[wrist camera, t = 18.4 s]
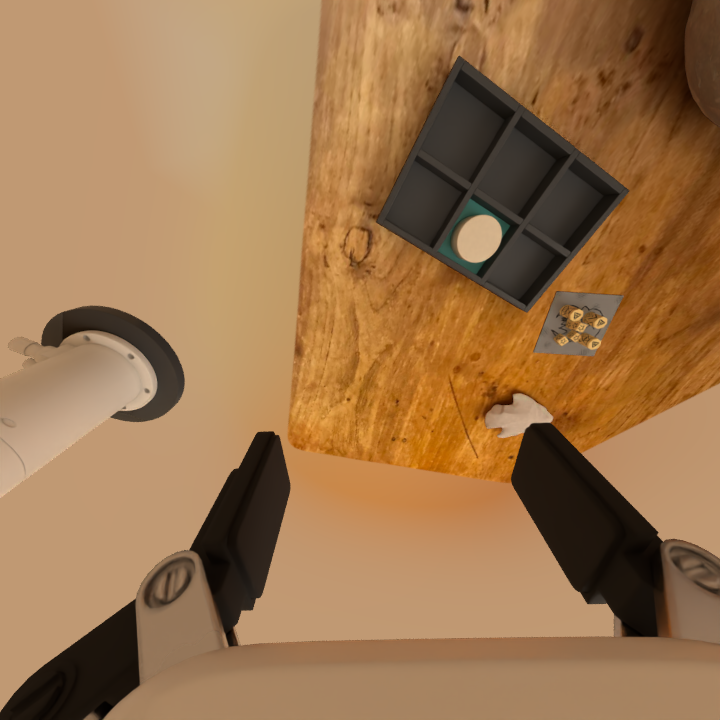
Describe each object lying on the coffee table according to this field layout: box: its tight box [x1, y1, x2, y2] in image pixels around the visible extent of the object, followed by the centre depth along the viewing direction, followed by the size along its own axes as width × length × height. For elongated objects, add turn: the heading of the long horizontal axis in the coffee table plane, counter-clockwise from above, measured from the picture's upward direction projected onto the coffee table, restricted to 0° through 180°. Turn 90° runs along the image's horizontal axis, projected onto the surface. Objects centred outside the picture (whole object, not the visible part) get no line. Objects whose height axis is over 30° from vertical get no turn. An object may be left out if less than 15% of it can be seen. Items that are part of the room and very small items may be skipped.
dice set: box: [553, 304, 608, 351], centre depth 33 cm, size 5×5×2 cm
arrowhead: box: [485, 393, 553, 438], centre depth 39 cm, size 8×3×10 cm
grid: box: [376, 56, 629, 312], centre depth 27 cm, size 20×13×2 cm
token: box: [451, 215, 502, 263], centre depth 28 cm, size 4×4×2 cm
